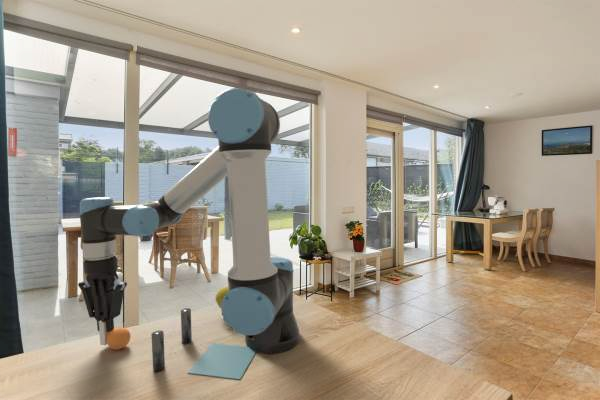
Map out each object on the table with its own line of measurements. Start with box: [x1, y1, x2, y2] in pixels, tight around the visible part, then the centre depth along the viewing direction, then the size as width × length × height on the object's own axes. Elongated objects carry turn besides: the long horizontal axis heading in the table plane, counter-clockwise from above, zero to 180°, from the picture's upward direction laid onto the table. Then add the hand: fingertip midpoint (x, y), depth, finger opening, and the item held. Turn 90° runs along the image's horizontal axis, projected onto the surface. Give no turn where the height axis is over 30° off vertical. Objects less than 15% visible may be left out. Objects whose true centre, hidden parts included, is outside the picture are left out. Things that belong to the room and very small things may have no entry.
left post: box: [150, 330, 166, 374], centre depth 76 cm, size 3×3×9 cm
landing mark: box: [187, 342, 257, 381], centre depth 80 cm, size 13×13×1 cm
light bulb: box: [215, 286, 229, 320], centre depth 103 cm, size 7×7×10 cm
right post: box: [180, 307, 193, 345], centre depth 88 cm, size 3×3×9 cm
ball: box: [106, 327, 131, 350], centre depth 85 cm, size 6×6×6 cm
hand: (106, 342), depth 86 cm, fingers closed
